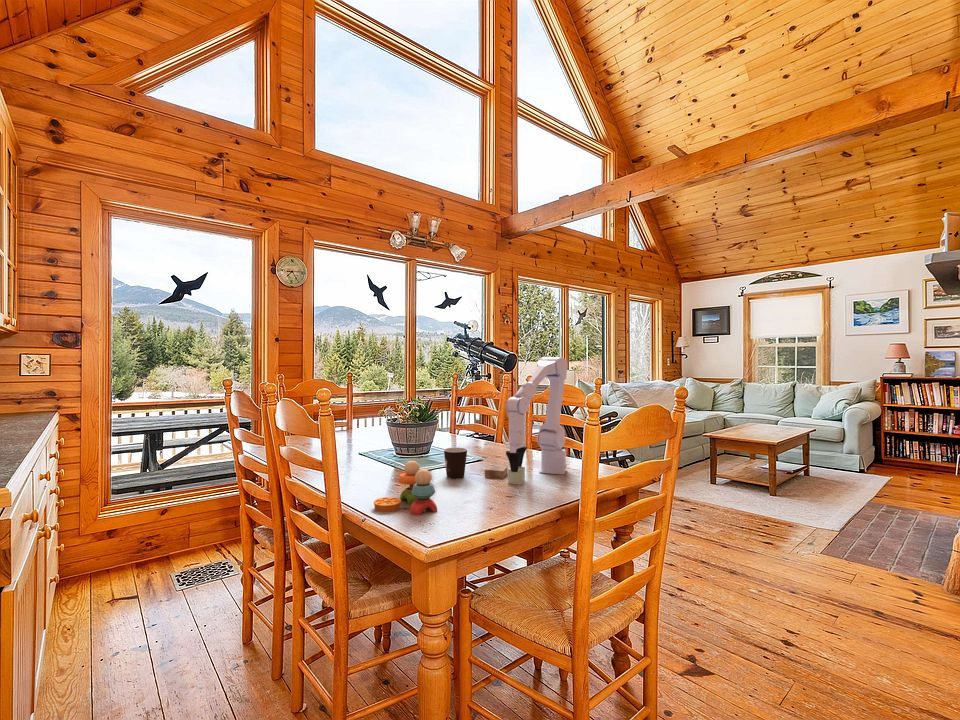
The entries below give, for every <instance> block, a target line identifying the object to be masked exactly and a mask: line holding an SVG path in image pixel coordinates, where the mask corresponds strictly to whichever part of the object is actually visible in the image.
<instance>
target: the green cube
mask: <svg viewBox="0 0 960 720" xmlns="http://www.w3.org/2000/svg"><path fill="white" fill-rule="evenodd" d="M525 470H526V468H525V466H521V467H519V468H518V472H511V468H510V467H509V468H507V478H508V479H507V483H508V484H513V485H523V484H524V483H525V481H526V479H525V477H526V476H525V475H526V474H525V472H526V471H525Z"/></svg>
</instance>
